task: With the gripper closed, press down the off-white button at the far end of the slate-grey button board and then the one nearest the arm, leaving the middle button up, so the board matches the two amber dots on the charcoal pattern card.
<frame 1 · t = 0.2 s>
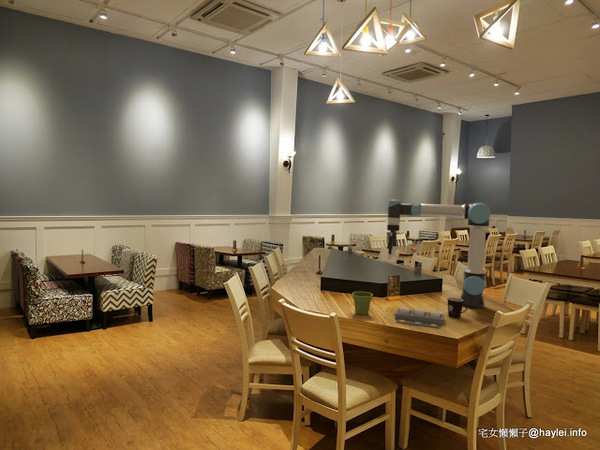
hand: (391, 257, 273), 28 cm above the table, fingers open, 13 cm apart
button middle: (419, 312, 237), point 4 cm above the table, slide at 0.0 cm
coffee mug: (455, 317, 243), on the table
pattern card: (417, 323, 229), on the table
plant pot: (361, 313, 245), on the table
button far: (405, 310, 240), point 4 cm above the table, slide at 0.0 cm
button near: (435, 314, 234), point 4 cm above the table, slide at 0.0 cm
button board: (419, 319, 238), on the table
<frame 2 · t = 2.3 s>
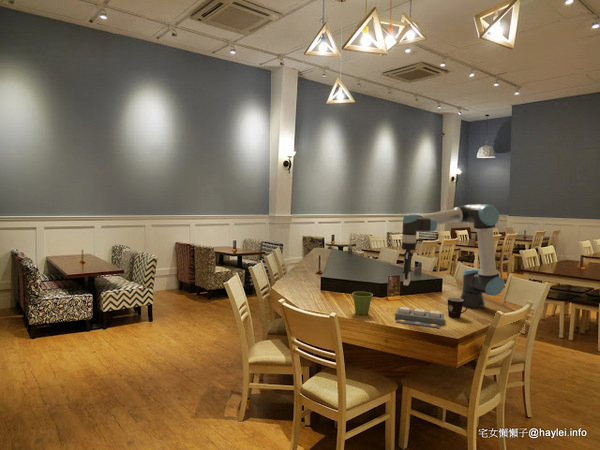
hand: (406, 284, 239), 19 cm above the table, fingers open, 5 cm apart
nothing on the table moved.
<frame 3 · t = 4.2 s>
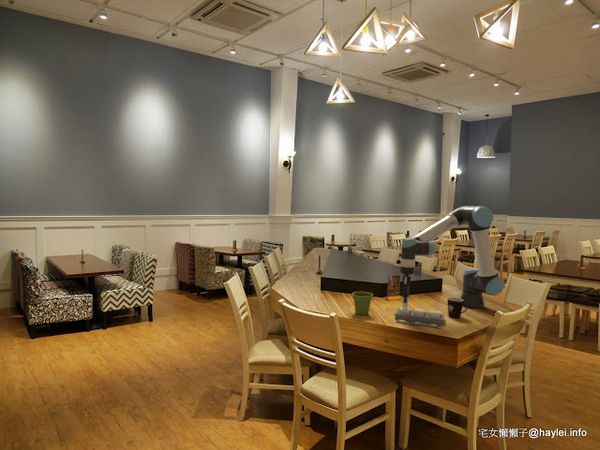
hand: (404, 308, 240), 5 cm above the table, fingers closed
button far: (405, 310, 240), point 4 cm above the table, slide at 0.1 cm, touching gripper
everything else where it was.
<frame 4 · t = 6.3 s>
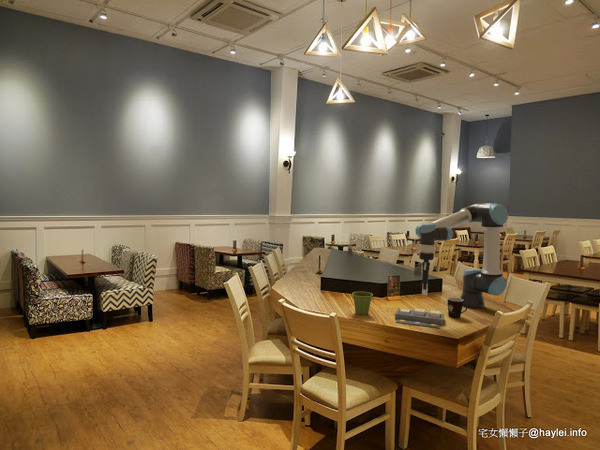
hand: (424, 294, 236), 14 cm above the table, fingers closed
button far: (404, 312, 240), point 3 cm above the table, slide at 1.2 cm
everything else where it was.
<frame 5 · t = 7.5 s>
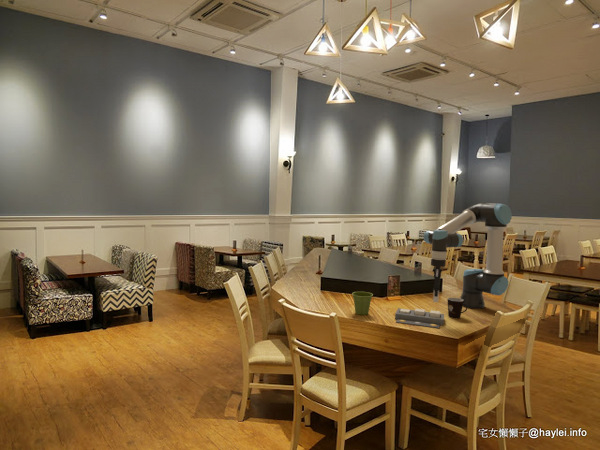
hand: (435, 301, 234), 11 cm above the table, fingers closed
nothing on the table moved.
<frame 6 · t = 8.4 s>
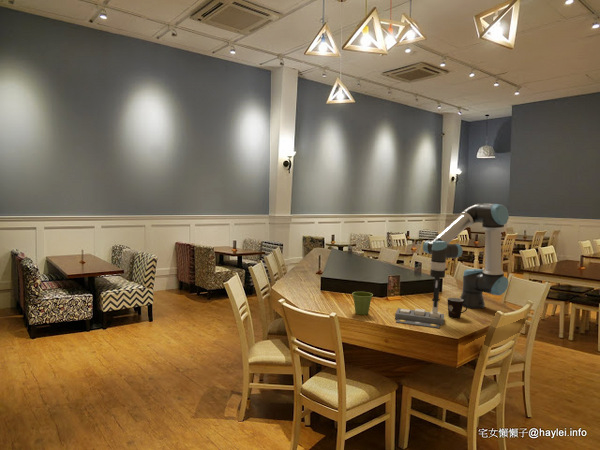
hand: (435, 312, 234), 5 cm above the table, fingers closed
button near: (435, 315, 234), point 3 cm above the table, slide at 0.4 cm, touching gripper
everything else where it was.
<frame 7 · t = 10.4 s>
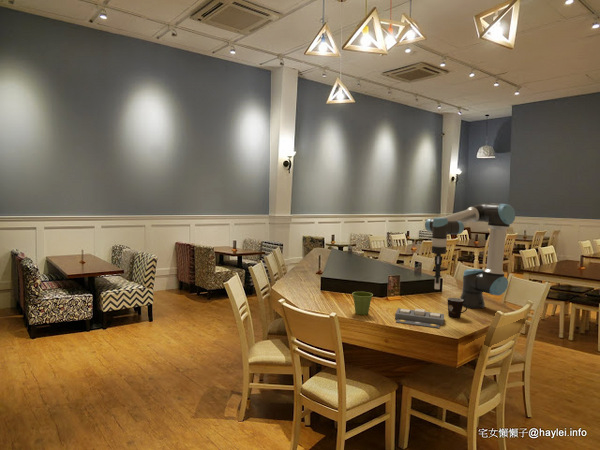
hand: (437, 288, 236), 17 cm above the table, fingers closed
button near: (434, 316, 235), point 3 cm above the table, slide at 1.2 cm
everything else where it was.
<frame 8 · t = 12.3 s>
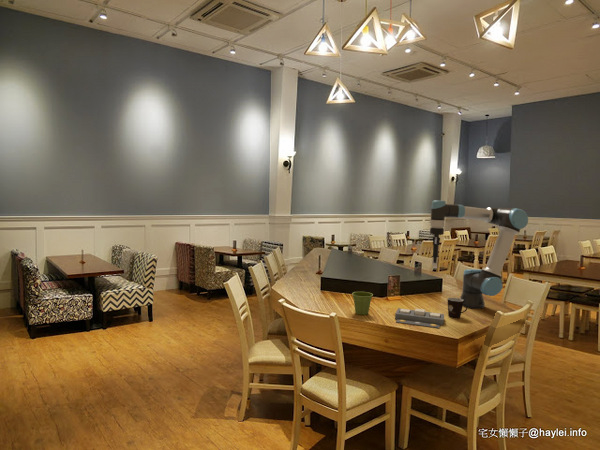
hand: (434, 268, 248), 26 cm above the table, fingers closed
nothing on the table moved.
at the end: button far slide at 1.2 cm; button near slide at 1.2 cm; button middle slide at 0.0 cm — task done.
